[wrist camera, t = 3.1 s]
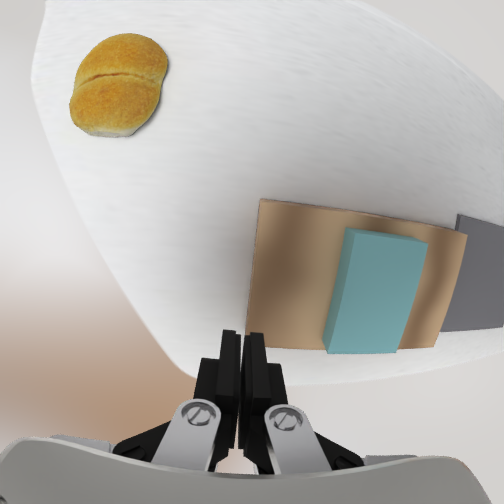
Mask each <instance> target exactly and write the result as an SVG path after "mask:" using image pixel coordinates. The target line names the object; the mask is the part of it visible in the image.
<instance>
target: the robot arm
mask: <svg viewBox="0 0 504 504" xmlns="http://www.w3.org/2000/svg"><path fill="white" fill-rule="evenodd" d="M240 362H241V335H240V334H236V331H233V330H223V334H222V342H221V350H220V358H219V359H210V358H201V363H200V367H199V372H198V377H197V382H196V387H195V392H194V397H193V399H190V400H188V401H185V402H183V403H182V404H180V406H179V407H178V408H177V410H176V412H175V414H174V416H173V418H172V420H171V421H169V422H167V423H164V424H162V425H160V426H157V427H155V428H153V429H150V430H148V431H146V432H143V433H141V434H138V435H136V436H133V437H131V438H128V439H126V440H123V441H122V442H120V443H118V444H117V445H116V444H110V442H109V441H102V440H93V439H85V438H78V437H71V436H66V435H54V436H52V437H50V438H44V437H24V438H20V439H17V440H15V441H13V442H12V443H11V444H9V445H8V446H7V447H6V448H5V449H4V450H3V452H2V453H1V454H0V504H492V503H491V501H490V500H489V498H488V496H487V495H486V493H485V491H484V489H483V488H482V486H481V484H480V483H479V481H478V480H477V478H476V477H475V476H474V474H473V473H472V472H471V470H470V469H469V468H468V467H467V466H466V465H465V464H464V463H463V462H461V461H460V460H458V459H455V458H451V457H445V456H421V457H417V456H415V455H392V456H391V455H390V456H369V455H368V456H366V457H365V458H360V456H358V455H357V454H355V453H353V452H351V451H349V450H347V449H346V448H344V447H342V446H340V445H338V444H336V443H334V442H332V441H330V440H328V439H327V438H325V437H323V436H321V435H320V434H318V433H316V432H314V431H313V429H312V427H311V424H310V422H309V420H308V418H307V416H306V415H305V413H304V412H303V411H302V410H300V409H299V408H297V407H295V406H292V405H288V401H287V395H286V390H285V384H284V379H283V374H282V368H281V364H276V363H267V358H266V350H265V342H264V334H263V333H258V332H250V335H245V337H244V345H243V354H242V363H241V372H240ZM237 419H238V449H243V450H244V452H243V454H244V457H246V458H248V459H249V460H250V461H252V462H253V463H254V472H255V475H253V474H251V475H250V474H229V473H217V472H216V471H217V467H218V462H219V461H221V460H222V459H224V458H225V457H227V456H228V452H229V451H228V450H229V448H231V449H234V442H235V434H236V426H237Z"/></svg>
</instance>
